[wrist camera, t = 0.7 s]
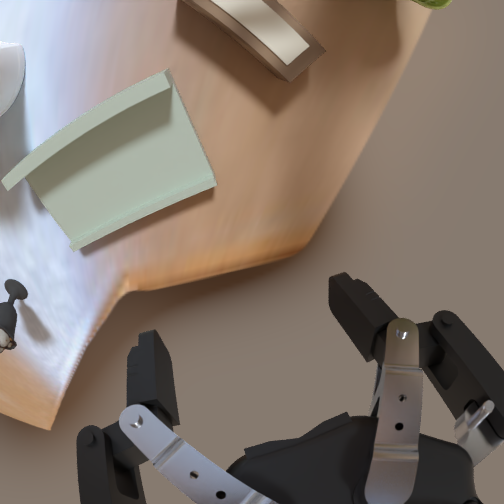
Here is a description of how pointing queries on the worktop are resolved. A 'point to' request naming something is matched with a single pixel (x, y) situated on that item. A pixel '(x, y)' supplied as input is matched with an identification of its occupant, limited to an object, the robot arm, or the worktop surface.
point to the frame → (264, 33)
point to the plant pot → (433, 3)
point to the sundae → (10, 314)
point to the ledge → (118, 162)
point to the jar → (10, 73)
